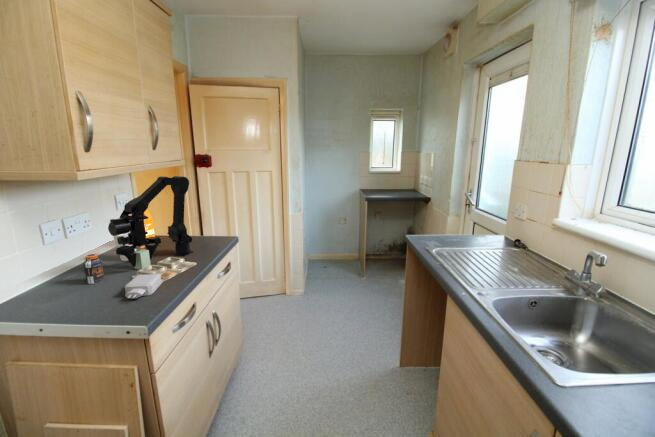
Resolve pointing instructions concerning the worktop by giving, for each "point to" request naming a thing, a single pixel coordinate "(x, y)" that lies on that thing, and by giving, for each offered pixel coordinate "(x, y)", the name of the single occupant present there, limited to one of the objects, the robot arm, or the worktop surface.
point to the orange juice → (148, 225)
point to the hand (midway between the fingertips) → (142, 263)
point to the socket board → (167, 268)
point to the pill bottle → (93, 269)
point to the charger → (143, 285)
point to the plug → (142, 259)
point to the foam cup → (122, 245)
